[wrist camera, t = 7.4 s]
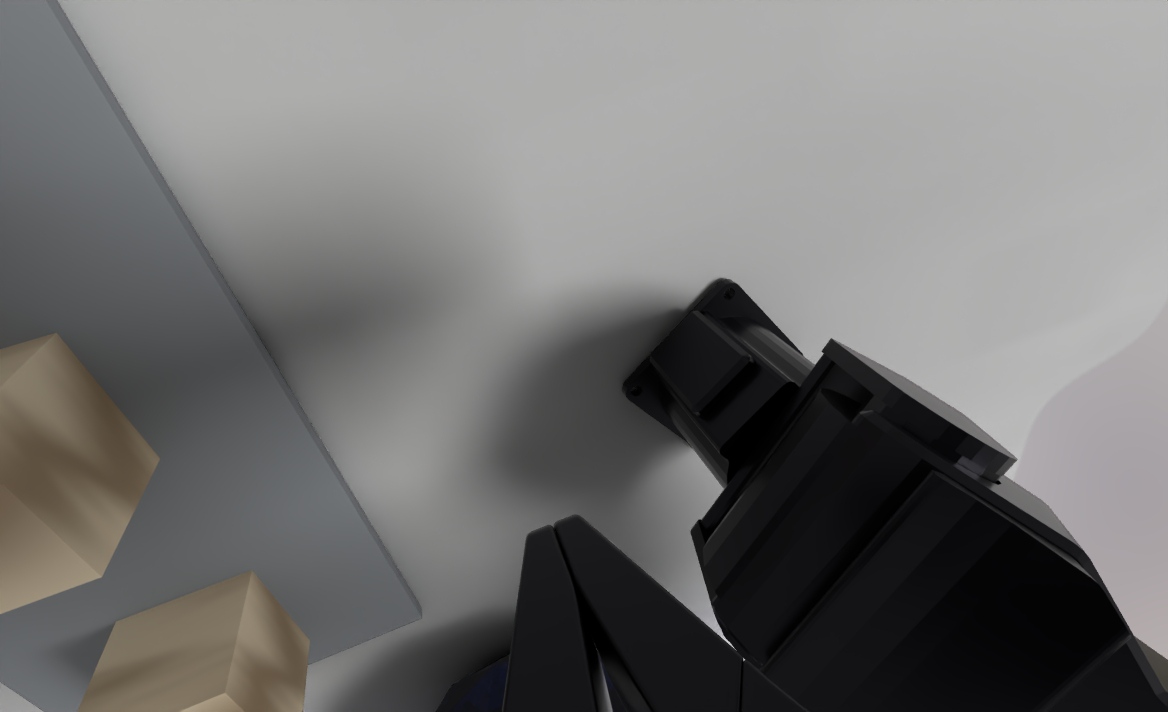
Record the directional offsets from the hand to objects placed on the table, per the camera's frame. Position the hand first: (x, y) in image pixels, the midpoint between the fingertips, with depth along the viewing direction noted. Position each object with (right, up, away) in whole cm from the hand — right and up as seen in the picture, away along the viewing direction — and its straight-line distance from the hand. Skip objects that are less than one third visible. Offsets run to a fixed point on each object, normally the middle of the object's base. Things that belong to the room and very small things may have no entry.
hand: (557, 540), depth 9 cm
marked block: (-14, -8, +14) cm, 22 cm away
